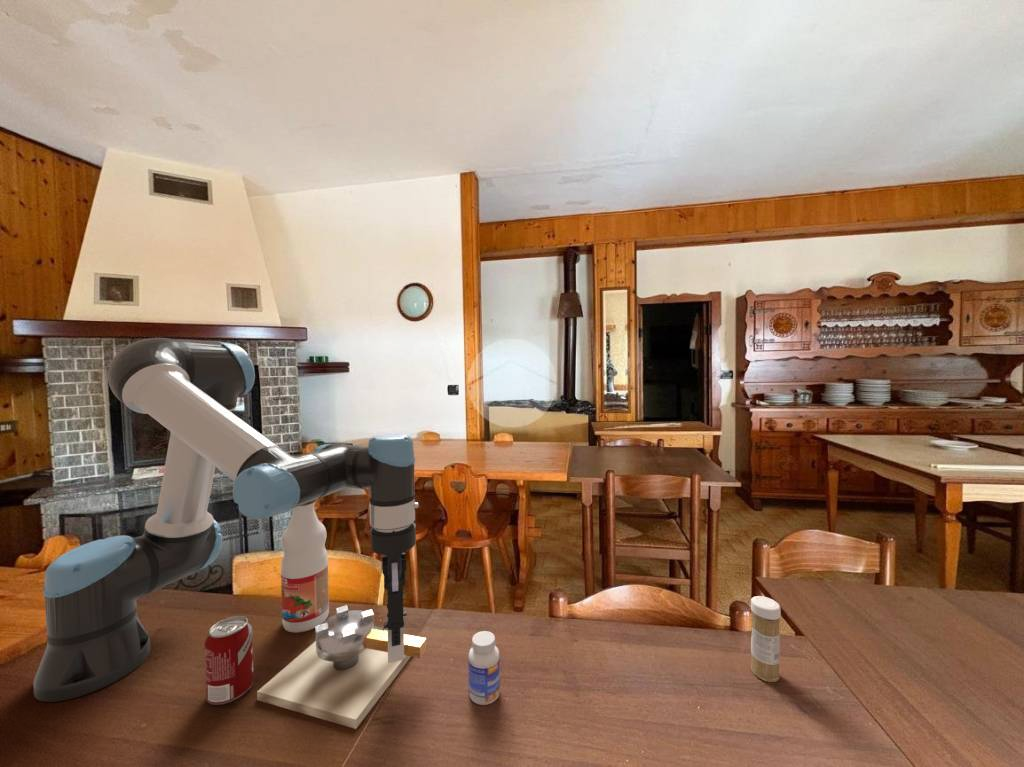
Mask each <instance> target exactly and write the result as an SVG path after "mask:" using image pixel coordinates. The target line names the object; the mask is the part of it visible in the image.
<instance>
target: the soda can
mask: <svg viewBox="0 0 1024 767" xmlns="http://www.w3.org/2000/svg"><path fill="white" fill-rule="evenodd" d="M253 646H254V643H253V626H252V625H251V624H250V623H249V621H248V618H247V616H243V615H234V616H230V617H227V618H225V619H222V620H219V621H218V622H216V623H215V624H214V625H212V626H211V627H210V629H209V631H208V636H207V637H206V639H205V641H204V662H205V663H204V667H205V668H204V670H205V692H206V693H205V695H206V701H207V702H208V703H209V704H210V705H214V706H218V705H225V704H229V703H231V702H234V701H236V700H237V699H239V698H241V697H242V696H244V695H245V694H246V693H247V692H248V691H249V690H250V689H251V688H252V686H253V685H254V681H255V679H254V678H255V677H254V676H255V675H254V673H255V672H254V650H253V649H254V647H253Z"/></svg>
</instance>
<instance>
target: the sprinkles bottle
mask: <svg viewBox="0 0 1024 767" xmlns="http://www.w3.org/2000/svg"><path fill="white" fill-rule="evenodd" d="M781 609H782V608H781V606H780V604H779V602H778V601H775V600H774V599H772V598H770V597H767V596H762V595H757V596H753V597H752V598H751V599H750V610H751V636H750V642H751V643H750V652H751V663H750V669H751V671H752V673H753V674H754V676H756V677H757V678H758V679H760V680H762V681H765V682H767V683H776V682H778V681H779V680H780V661H781V660H780V658H781V655H780V652H781V651H780V647H781V646H780V645H781V640H780V639H781V633H780V619H781V615H782V614H781Z"/></svg>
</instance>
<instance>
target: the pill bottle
mask: <svg viewBox="0 0 1024 767" xmlns="http://www.w3.org/2000/svg"><path fill="white" fill-rule="evenodd" d="M471 641H472V642H471V647H470V649H469V651H468V657H467V658H468V660H467V661H468V664H467V665H468V695H469V698H470V699H471V701H472V702H473V703H475V704H477V705H481V706H487V705H490V704H492V703H494V702H495V701H497V699H498V698H499V697H500V692H501V680H500V678H501V677H500V676H501V675H500V650H499V648H498V647H497V646H496V637H495V634H494V633H492V632H491V631H488V630H487V631H486V630H481V631H478V632H476V633H475V634H474V635H472V639H471Z"/></svg>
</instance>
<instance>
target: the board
mask: <svg viewBox="0 0 1024 767" xmlns="http://www.w3.org/2000/svg"><path fill="white" fill-rule="evenodd" d="M374 629H376V630H382V631H387V629H385V628H384V627H379V626H376V625H374ZM404 634H405V635H409V634H408V633H404ZM410 635H411V636H414V635H412V634H410ZM416 636H417V635H416ZM417 637H419V636H417ZM410 658H411V657H410V656H405V655H404V660H400V661H396V662H392V663H388V652H384V651H378V650H373V649H366V650H365V651H363V652H362V653H360V654H359V655H357V656H355V657H352V658H350V659H347V660H343V661H335V662H332V661H325V660H323V659H321V658H319V657H318V655H317V653H316V640H315V641H313V643H312V644H310V645H309V646H308V647H307V648H305V649H304V650H303V651H302V652H301V653H299V654H298V655H297V657H295V658H293V660H291V661H290V662H289V663H288V664H287V665H286V666H285V667H284V668H282V669H281V670H280V671H279V672H278V673H276V674H275V675H274V676H273V677H272V678H271V679H269V681H268V682H266V683H265V684H264V685H262V686H261V688H259V689H258V690H257V691H256V697H257V701H259V702H263V703H266V704H270V705H273V706H277V707H280V708H282V709H287V710H290V711H293V712H297V713H300V714H304V715H307V716H311V717H314V718H317V719H321V720H323V721H328V722H331V723H335V724H337V725H341V726H343V727H348V728H351V729H354V730H356V729H357V728H358V727H359V726H360V725H361V723H362V722H363V721H364V719H365V718H366V717H367V715H368V714H369V713H370V711H371V710H372V709H373V708H374V706H375V705H376V703H377V702H378V701H379V700H380V699H381V697H382V696H383V694H384V693H385V691H386V690H387V689H388V688H389V686H390V685H391V684H392V683H393V681H394V680H395V679H396V677H397V676H398V674H399V673H400V672H401V671H402V669H403V668H404V666H406V664H407V663H408V661H409V660H410Z"/></svg>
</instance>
